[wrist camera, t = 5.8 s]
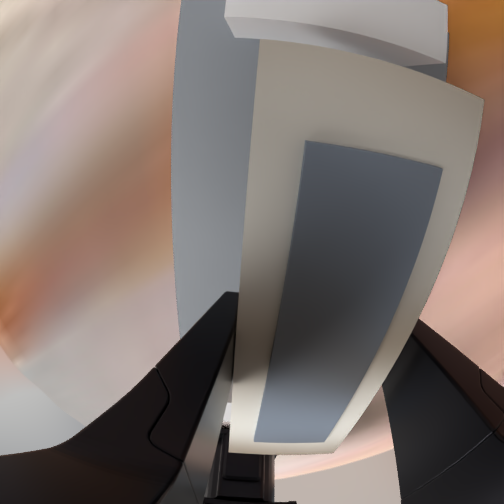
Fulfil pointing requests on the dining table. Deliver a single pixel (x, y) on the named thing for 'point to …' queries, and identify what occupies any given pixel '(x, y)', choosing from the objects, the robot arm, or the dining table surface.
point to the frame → (339, 236)
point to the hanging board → (242, 106)
